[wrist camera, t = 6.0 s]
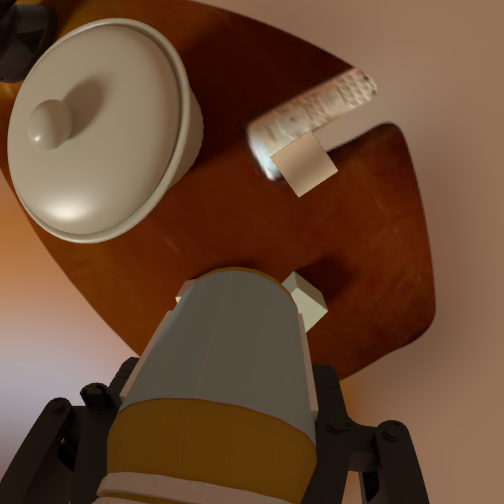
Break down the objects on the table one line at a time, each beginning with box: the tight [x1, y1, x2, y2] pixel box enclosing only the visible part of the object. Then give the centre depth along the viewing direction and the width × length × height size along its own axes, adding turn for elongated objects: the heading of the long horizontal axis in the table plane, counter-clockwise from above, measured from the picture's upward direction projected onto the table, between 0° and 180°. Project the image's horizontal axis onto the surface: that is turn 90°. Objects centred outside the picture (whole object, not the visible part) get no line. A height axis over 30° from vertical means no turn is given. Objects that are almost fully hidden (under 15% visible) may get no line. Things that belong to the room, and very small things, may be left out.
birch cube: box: [270, 130, 338, 197], centre depth 30 cm, size 5×5×5 cm
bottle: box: [92, 267, 317, 504], centre depth 10 cm, size 7×7×15 cm
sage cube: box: [282, 271, 328, 332], centre depth 36 cm, size 5×5×5 cm
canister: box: [8, 18, 204, 243], centre depth 22 cm, size 18×18×21 cm
